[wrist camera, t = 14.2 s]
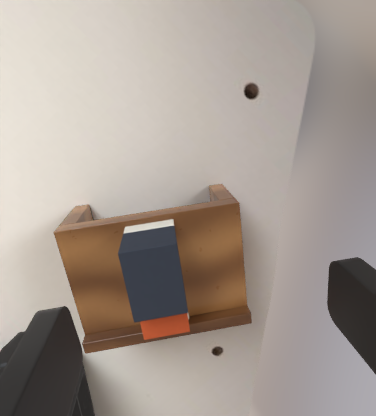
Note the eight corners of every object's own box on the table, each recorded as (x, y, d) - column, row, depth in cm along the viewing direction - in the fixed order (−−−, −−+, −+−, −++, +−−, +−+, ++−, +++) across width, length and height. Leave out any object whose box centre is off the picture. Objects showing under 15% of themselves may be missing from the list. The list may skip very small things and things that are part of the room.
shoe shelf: (75, 206, 31) (48, 238, 23) (222, 183, 32) (243, 206, 24) (100, 300, 35) (85, 353, 27) (231, 277, 36) (251, 323, 28)
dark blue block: (124, 226, 25) (117, 253, 20) (173, 218, 25) (177, 243, 21) (144, 316, 28) (142, 358, 23) (187, 309, 28) (194, 348, 24)
